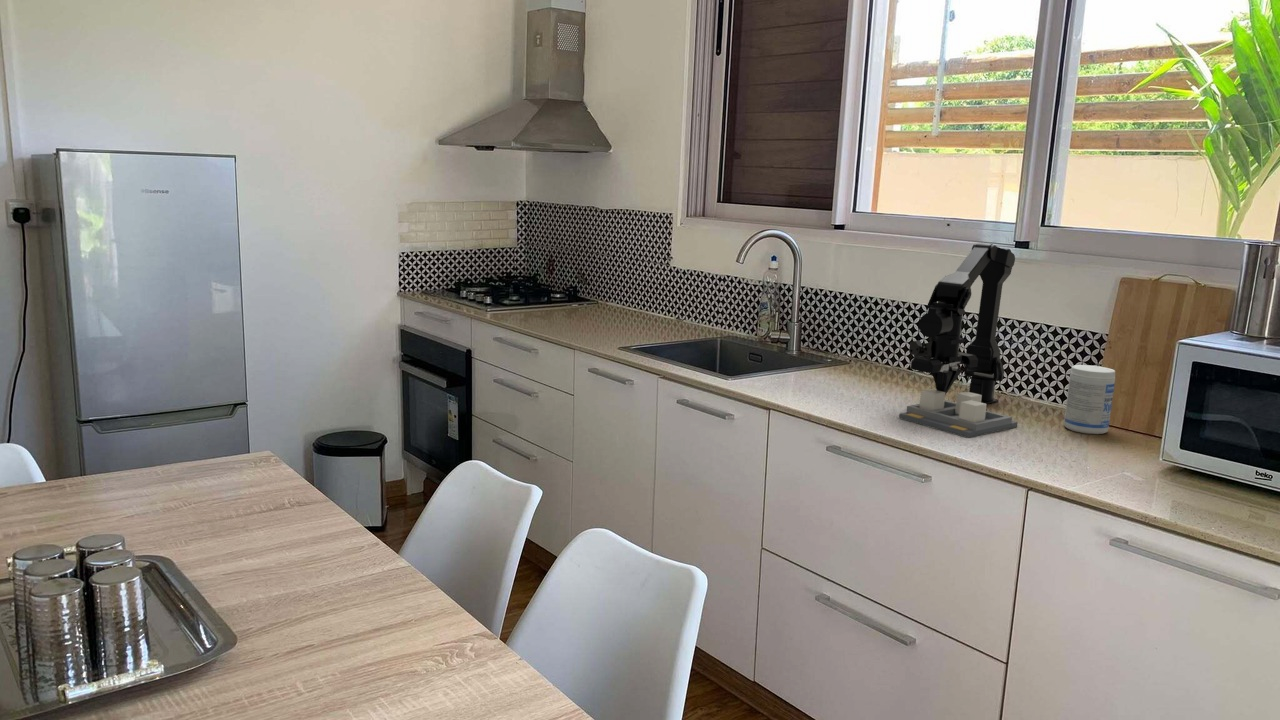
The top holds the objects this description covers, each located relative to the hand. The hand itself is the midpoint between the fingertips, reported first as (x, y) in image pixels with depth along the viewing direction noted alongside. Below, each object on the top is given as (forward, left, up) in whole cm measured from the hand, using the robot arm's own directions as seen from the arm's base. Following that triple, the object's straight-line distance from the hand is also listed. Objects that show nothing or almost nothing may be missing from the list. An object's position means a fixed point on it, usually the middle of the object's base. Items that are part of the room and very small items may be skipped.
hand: (941, 397), depth 228 cm
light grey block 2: (+5, +12, -3) cm, 13 cm away
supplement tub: (-22, +25, -5) cm, 33 cm away
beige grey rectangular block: (+3, 0, -3) cm, 5 cm away
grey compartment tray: (+1, +6, -5) cm, 8 cm away
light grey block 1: (-3, +6, -3) cm, 7 cm away
